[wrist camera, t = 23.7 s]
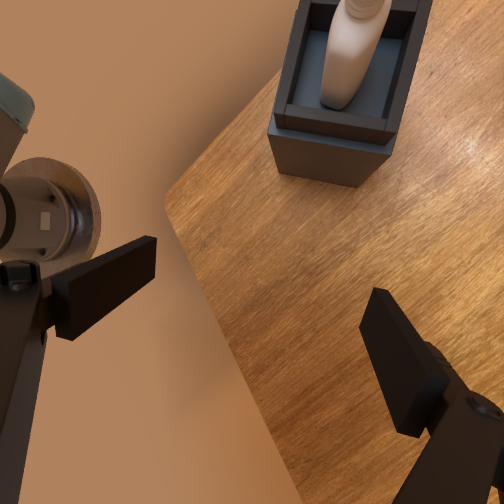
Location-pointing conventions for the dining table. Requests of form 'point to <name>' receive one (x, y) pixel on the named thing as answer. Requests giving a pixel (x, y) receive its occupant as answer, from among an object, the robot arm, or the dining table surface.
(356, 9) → the eye dropper bottle
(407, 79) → the pedestal
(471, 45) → the dining table surface
